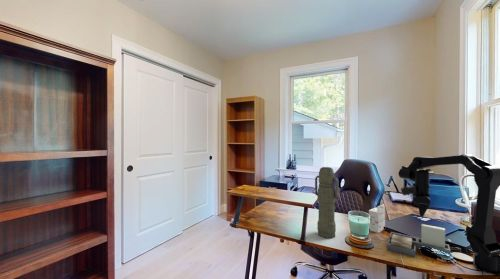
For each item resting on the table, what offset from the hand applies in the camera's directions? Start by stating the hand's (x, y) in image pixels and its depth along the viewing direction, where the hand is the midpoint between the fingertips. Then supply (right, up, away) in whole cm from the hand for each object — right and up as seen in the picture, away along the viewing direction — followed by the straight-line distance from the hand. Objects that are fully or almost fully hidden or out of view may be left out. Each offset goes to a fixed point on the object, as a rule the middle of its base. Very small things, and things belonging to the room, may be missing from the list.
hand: (421, 213), depth 108 cm
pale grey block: (-4, -12, -11) cm, 17 cm away
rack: (-10, -13, -11) cm, 20 cm away
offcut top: (-18, -9, -11) cm, 23 cm away
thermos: (-45, -13, +6) cm, 47 cm away
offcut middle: (-18, -10, -11) cm, 24 cm away
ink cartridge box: (-16, -13, +10) cm, 23 cm away
